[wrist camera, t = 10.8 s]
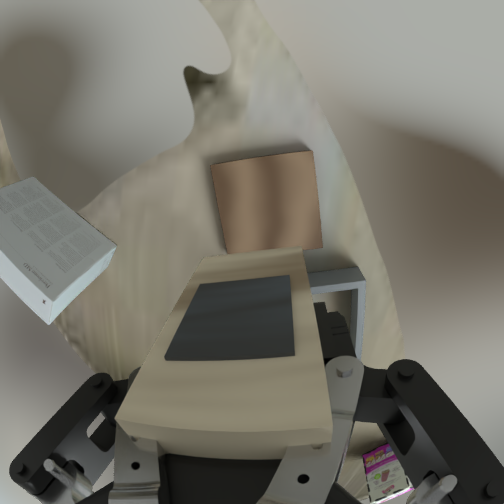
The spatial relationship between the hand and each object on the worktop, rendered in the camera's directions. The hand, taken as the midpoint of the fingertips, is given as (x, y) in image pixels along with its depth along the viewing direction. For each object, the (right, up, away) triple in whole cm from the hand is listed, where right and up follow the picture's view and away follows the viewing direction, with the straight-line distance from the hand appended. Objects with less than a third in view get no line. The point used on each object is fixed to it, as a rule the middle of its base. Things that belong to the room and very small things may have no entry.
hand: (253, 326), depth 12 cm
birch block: (0, +1, +3) cm, 3 cm away
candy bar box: (+35, -50, +44) cm, 75 cm away
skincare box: (-30, +8, +26) cm, 41 cm away
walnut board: (+2, +9, +22) cm, 24 cm away
